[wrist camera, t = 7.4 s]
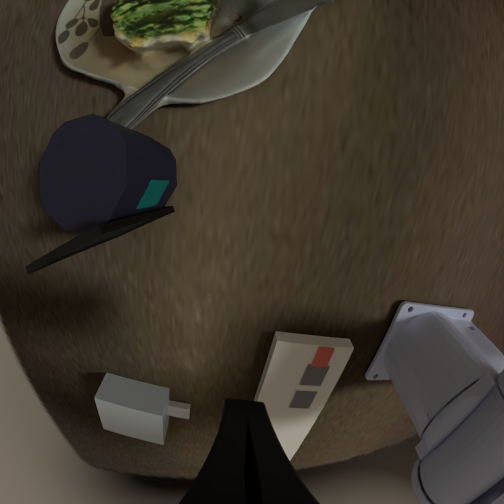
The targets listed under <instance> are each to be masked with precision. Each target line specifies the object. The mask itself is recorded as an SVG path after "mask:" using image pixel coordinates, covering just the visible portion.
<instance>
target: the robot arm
mask: <svg viewBox="0 0 504 504" xmlns="http://www.w3.org/2000/svg"><path fill="white" fill-rule="evenodd" d="M410 307H411V308H410ZM409 308H410V309H409ZM408 309H409V310H408ZM473 315H474V311H473V310H471V309H465V308H456V307H448V306H440V305H432V304H424V303H416V302H408V301H404V302H402V303H401V304H400V305H399V307H398V310H397V312H396V314H395V316H394V318H393V321H392V323H391V325H390V327H389V329H388V331H387V333H386V335H385V337H384V339H383V341H382V343H381V345H380V347H379V349H378V351H377V353H376V355H375V357H374V359H373V361H372V363H371V365H370V366H369V368H368V370H367V372H366V374H365V378H366V379H367V380H391V381H392V383H393V385H394V387H395V389H396V391H397V393H398V395H399V396H400V398H401V400H402V402H403V404H404V406H405V408H406V410H407V412H408V414H409V416H410V418H411V420H412V422H413V424H414V426H415V428H416V430H417V432H418V434H419V436H420V438H421V442H420V443H419V444H418V445H417V446H416V447H415V449H416V451H417V453H418V456H419V459H418V460H417V461H416V462H415V464H414V466H413V470H412V485H413V490H414V493H415V495H416V498H417V499H418V501H419V503H420V504H504V356H503V354H502V353H501V352H500V351H499V350H498V349H497V348H496V347H495V346H494V344H493V343H492V342H491V341H490V340H489V339H488V338H487V337H486V336H485V335H484V334H483V333H482V332H481V331H480V330H479V329H478V328H477V327H476V326H475V325H474V324H473V323H472V322H471V319H472V317H473ZM179 504H320V503H319V502H318V501H317V500H316V499H315V497H314V496H313V495H312V494H311V492H310V491H309V490H308V488H307V487H306V486H305V484H304V483H303V482H302V480H301V479H300V477H299V476H298V474H297V473H296V471H295V469H294V468H293V466H292V464H291V463H290V461H289V459H288V457H287V455H286V454H285V452H284V450H283V448H282V446H281V444H280V442H279V440H278V437H277V435H276V433H275V431H274V428H273V426H272V423H271V421H270V418H269V415H268V413H267V410H266V406H265V404H264V403H263V402H259V401H249V400H240V399H232V398H228V399H226V400H225V404H224V408H223V412H222V417H221V421H220V425H219V431H218V434H217V436H216V439H215V441H214V444H213V446H212V448H211V451H210V453H209V455H208V457H207V459H206V461H205V463H204V465H203V467H202V468H201V470H200V472H199V474H198V475H197V477H196V479H195V480H194V482H193V484H192V485H191V487H190V488H189V490H188V491H187V493H186V494H185V496H184V497H183V499H182V500H181V501H180V503H179Z"/></svg>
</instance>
